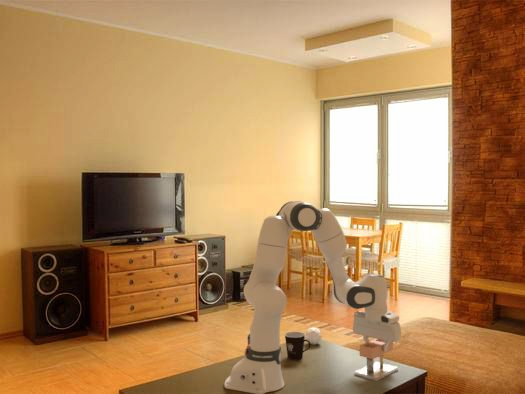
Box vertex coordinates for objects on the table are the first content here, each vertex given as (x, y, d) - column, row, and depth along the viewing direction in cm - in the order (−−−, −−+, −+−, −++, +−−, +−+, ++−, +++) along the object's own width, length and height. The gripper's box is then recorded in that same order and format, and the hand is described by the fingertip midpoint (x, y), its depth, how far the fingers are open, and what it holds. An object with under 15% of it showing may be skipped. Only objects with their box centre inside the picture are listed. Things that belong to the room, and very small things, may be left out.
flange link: (372, 359, 205) (372, 348, 204) (359, 355, 209) (359, 345, 209) (393, 349, 215) (392, 340, 215) (380, 346, 219) (380, 337, 219)
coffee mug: (281, 356, 234) (281, 333, 233) (299, 353, 237) (298, 330, 237) (294, 364, 223) (294, 340, 223) (312, 360, 227) (312, 337, 226)
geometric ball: (316, 348, 252) (325, 334, 254) (315, 347, 245) (324, 332, 246) (302, 339, 254) (311, 325, 256) (301, 337, 247) (310, 323, 249)
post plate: (376, 381, 203) (376, 361, 203) (354, 374, 210) (354, 355, 210) (398, 370, 214) (397, 351, 214) (376, 364, 221) (376, 346, 221)
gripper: (349, 311, 216) (350, 345, 217) (394, 320, 202) (394, 356, 203) (358, 308, 221) (358, 342, 221) (403, 316, 207) (403, 352, 207)
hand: (376, 348), depth 212 cm, fingers closed on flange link, 6 cm apart
